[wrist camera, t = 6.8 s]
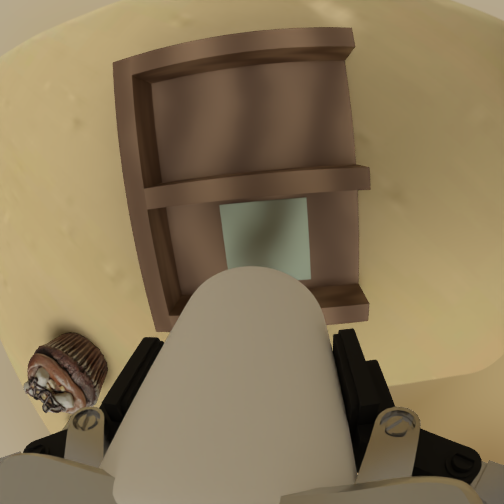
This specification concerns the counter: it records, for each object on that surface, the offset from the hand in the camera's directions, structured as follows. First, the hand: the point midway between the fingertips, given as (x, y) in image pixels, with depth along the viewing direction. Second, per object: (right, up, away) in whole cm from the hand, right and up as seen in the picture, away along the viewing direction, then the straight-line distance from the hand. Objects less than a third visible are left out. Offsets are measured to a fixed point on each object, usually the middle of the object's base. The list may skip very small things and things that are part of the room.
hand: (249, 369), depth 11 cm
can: (0, +1, +3) cm, 3 cm away
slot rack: (0, +10, +15) cm, 18 cm away
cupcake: (-22, -9, +24) cm, 34 cm away
